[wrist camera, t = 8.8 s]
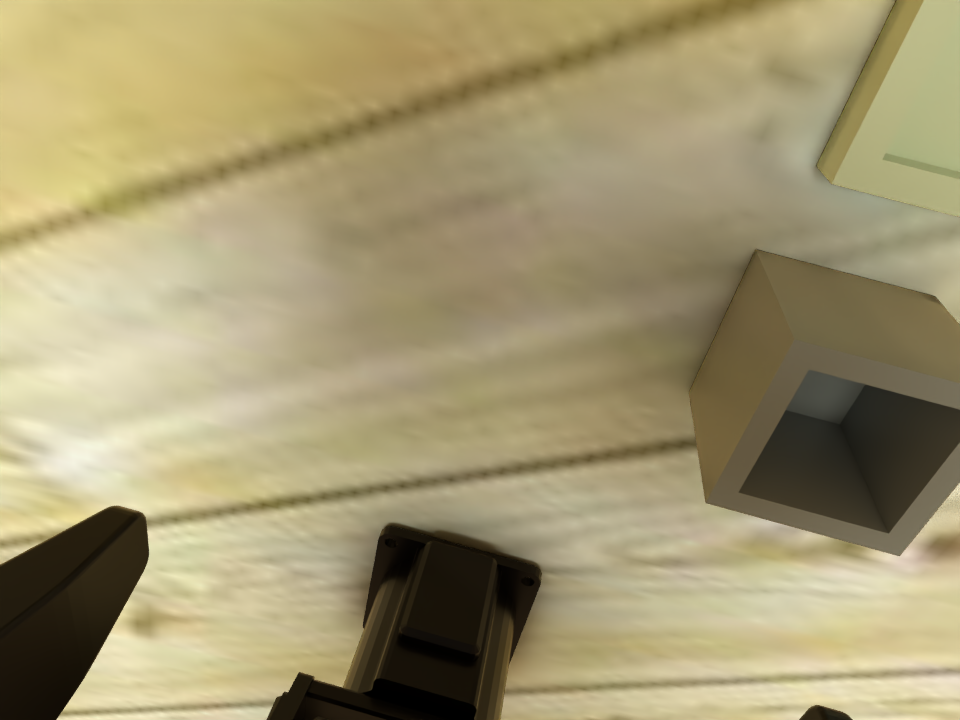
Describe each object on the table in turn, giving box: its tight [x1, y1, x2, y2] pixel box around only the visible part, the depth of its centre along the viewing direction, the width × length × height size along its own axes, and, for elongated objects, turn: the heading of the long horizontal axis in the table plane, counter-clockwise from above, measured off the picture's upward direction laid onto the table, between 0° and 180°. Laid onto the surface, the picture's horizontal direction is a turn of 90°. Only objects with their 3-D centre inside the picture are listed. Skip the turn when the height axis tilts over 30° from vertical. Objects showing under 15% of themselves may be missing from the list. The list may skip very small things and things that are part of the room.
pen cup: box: [689, 250, 960, 556], centre depth 18 cm, size 5×5×5 cm
